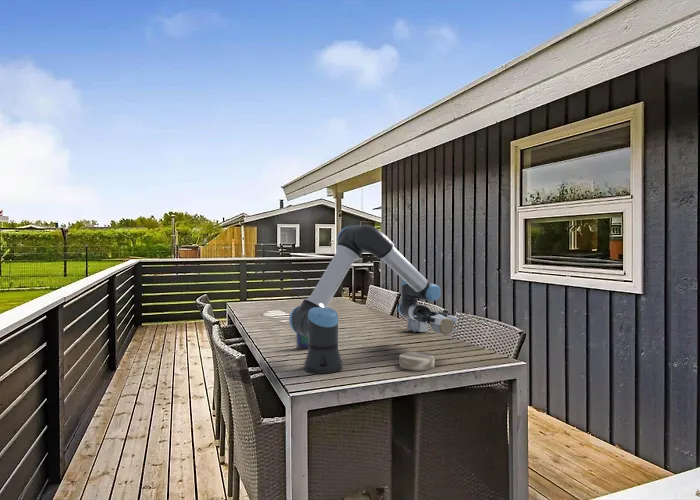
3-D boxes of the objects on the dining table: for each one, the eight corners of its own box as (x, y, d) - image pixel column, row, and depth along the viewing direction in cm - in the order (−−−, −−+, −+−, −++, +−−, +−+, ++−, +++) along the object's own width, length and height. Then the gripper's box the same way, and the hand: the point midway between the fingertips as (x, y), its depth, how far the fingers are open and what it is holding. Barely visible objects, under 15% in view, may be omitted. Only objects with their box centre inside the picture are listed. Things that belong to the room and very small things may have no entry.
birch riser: (421, 373, 179) (421, 362, 179) (392, 366, 189) (392, 356, 189) (441, 365, 190) (441, 355, 189) (412, 359, 199) (412, 350, 199)
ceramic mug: (439, 335, 195) (440, 317, 195) (429, 332, 202) (430, 314, 202) (461, 334, 198) (462, 316, 198) (450, 331, 206) (451, 313, 206)
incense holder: (430, 332, 256) (430, 312, 255) (420, 334, 250) (420, 314, 250) (416, 329, 263) (416, 310, 263) (406, 331, 258) (406, 312, 258)
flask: (295, 348, 218) (295, 325, 218) (297, 347, 221) (297, 324, 221) (315, 349, 217) (315, 326, 216) (316, 348, 220) (316, 325, 219)
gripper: (438, 319, 221) (468, 328, 200) (400, 322, 213) (427, 331, 192) (438, 303, 221) (468, 310, 200) (400, 306, 213) (427, 313, 192)
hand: (448, 321), depth 196 cm, fingers closed on ceramic mug, 7 cm apart
